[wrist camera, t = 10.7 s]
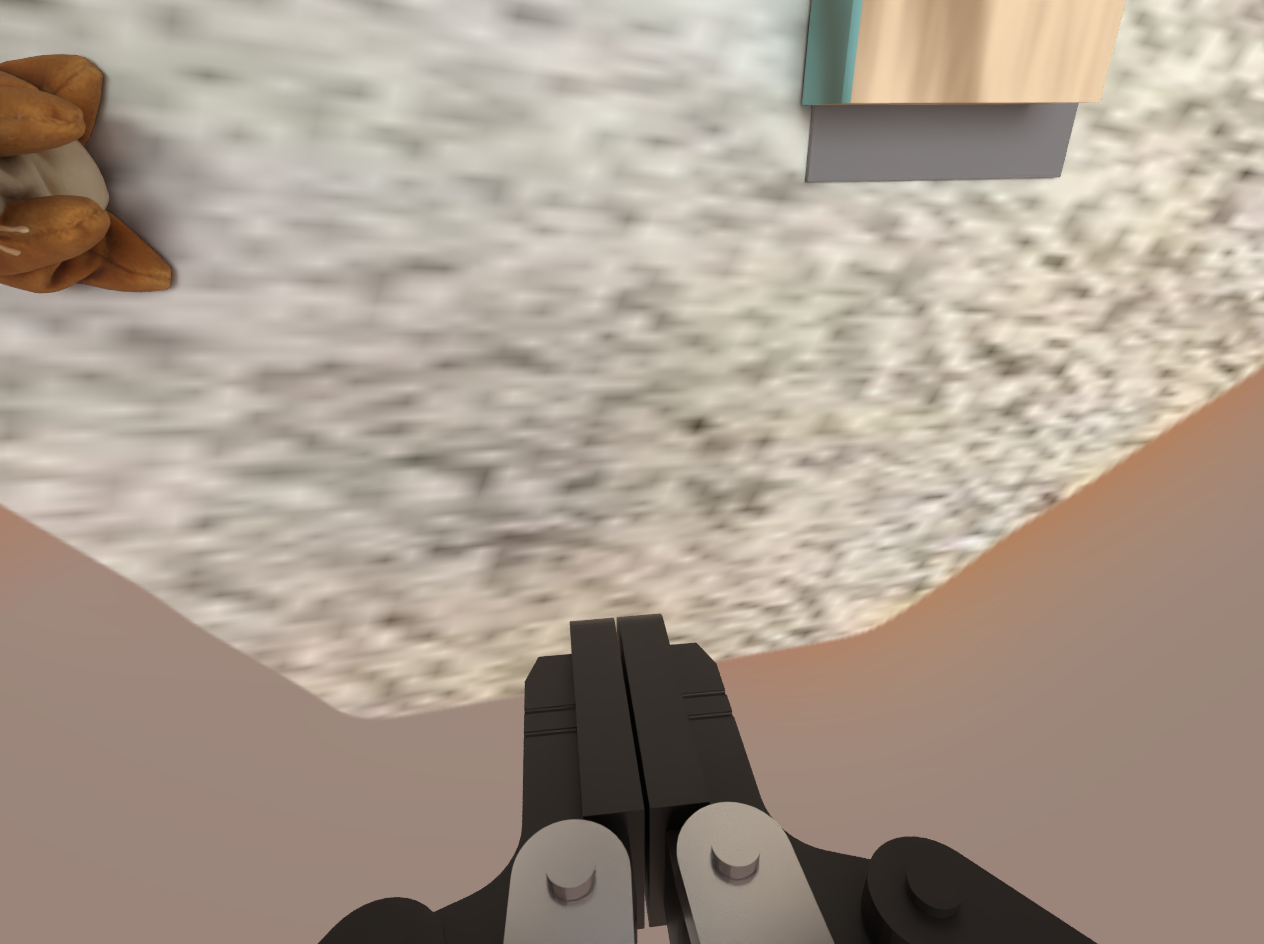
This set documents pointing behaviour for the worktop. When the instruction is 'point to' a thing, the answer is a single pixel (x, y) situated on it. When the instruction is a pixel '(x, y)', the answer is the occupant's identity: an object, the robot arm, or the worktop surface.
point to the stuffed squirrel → (61, 186)
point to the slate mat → (938, 141)
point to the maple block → (959, 51)
